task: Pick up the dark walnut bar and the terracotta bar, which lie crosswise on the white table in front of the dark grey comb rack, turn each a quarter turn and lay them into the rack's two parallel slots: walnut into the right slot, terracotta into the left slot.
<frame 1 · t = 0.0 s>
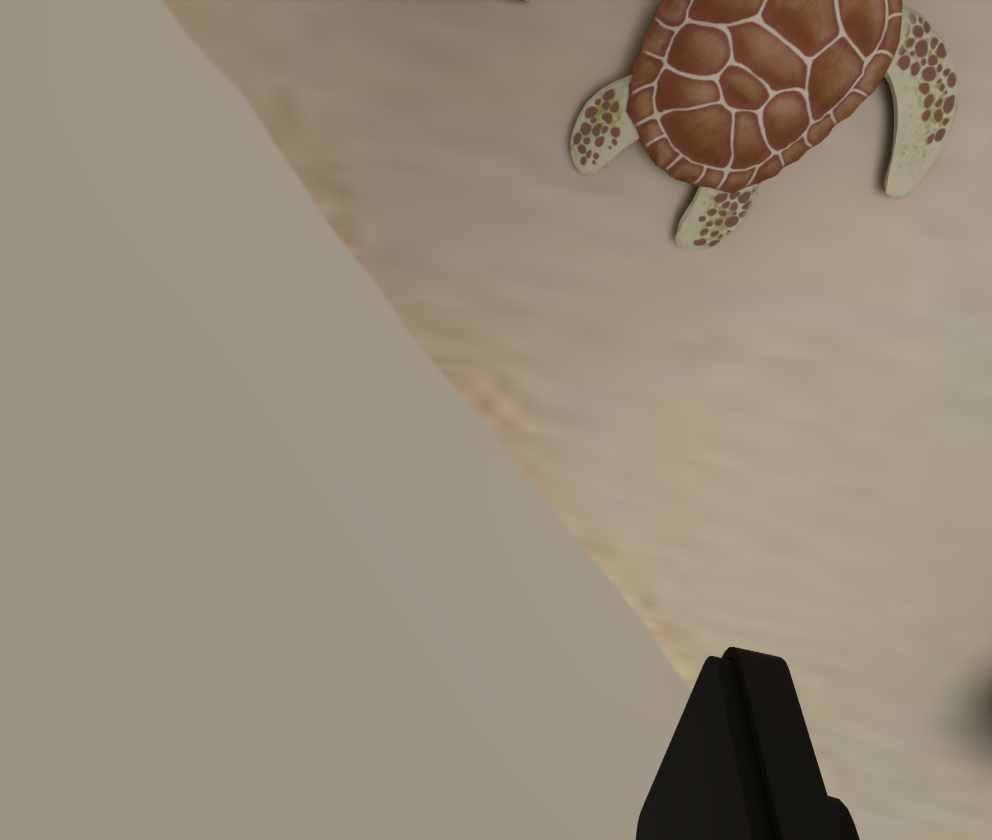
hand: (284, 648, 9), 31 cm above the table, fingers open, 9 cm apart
decorative turtle: (755, 38, 34), on the table
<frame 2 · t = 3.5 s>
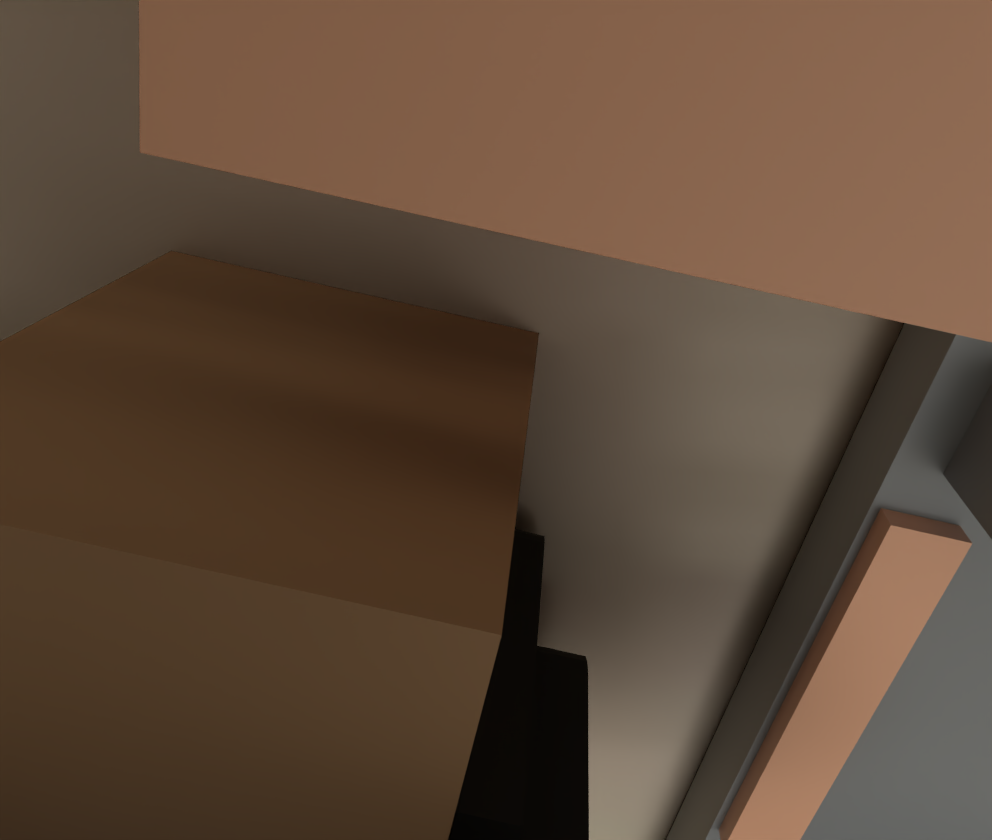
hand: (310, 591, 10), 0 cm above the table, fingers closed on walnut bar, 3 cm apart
walnut bar: (317, 586, 11), on the table, touching gripper
when the fingers open (3 cm above the table, at t = 7.7 s): walnut bar stays where it is, resting on slot rack.
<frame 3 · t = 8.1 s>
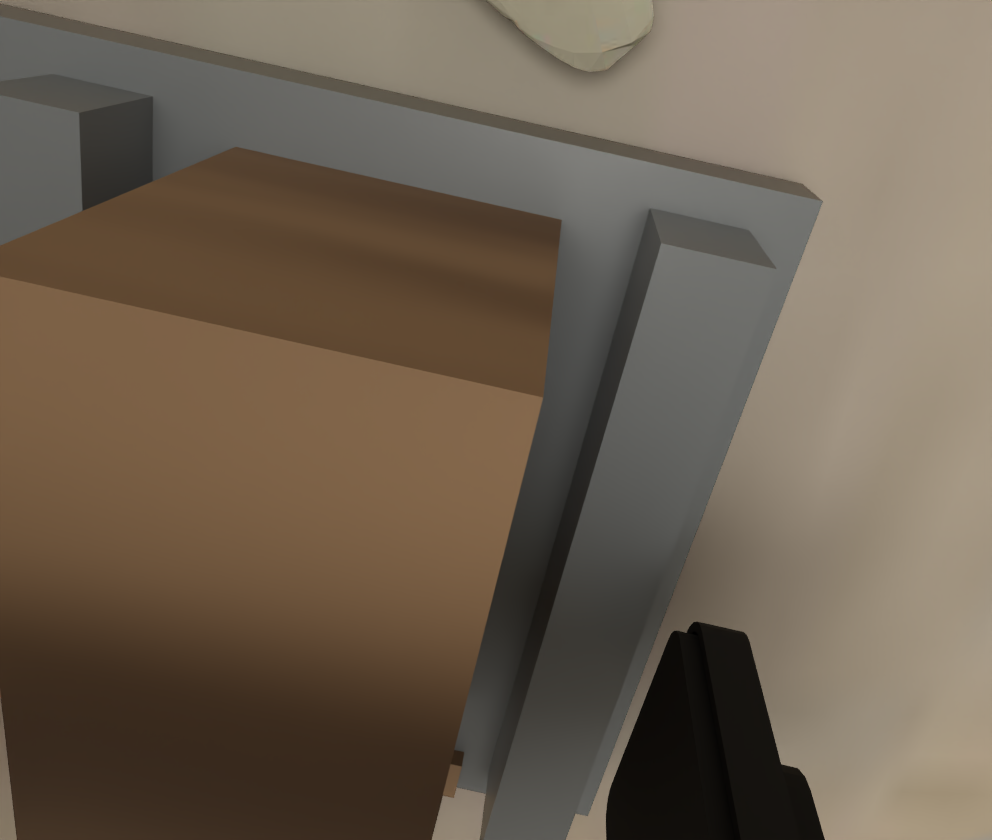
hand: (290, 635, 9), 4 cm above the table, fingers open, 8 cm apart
slot rack: (143, 416, 13), on the table
walnut bar: (359, 463, 12), point 1 cm above the table, touching slot rack
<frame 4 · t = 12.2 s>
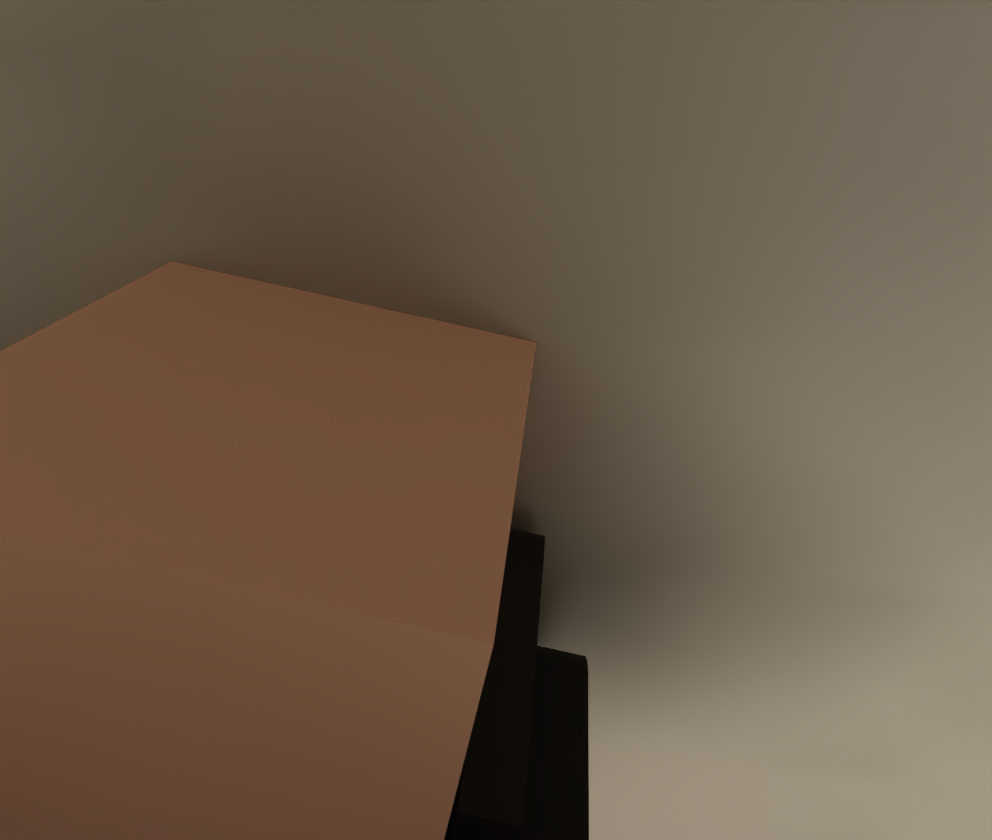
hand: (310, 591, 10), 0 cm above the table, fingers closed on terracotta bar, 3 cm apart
terracotta bar: (316, 595, 11), on the table, touching gripper
when the fingers open (3 cm above the table, at t = 16.3 s): terracotta bar moves 1 cm, resting on slot rack.
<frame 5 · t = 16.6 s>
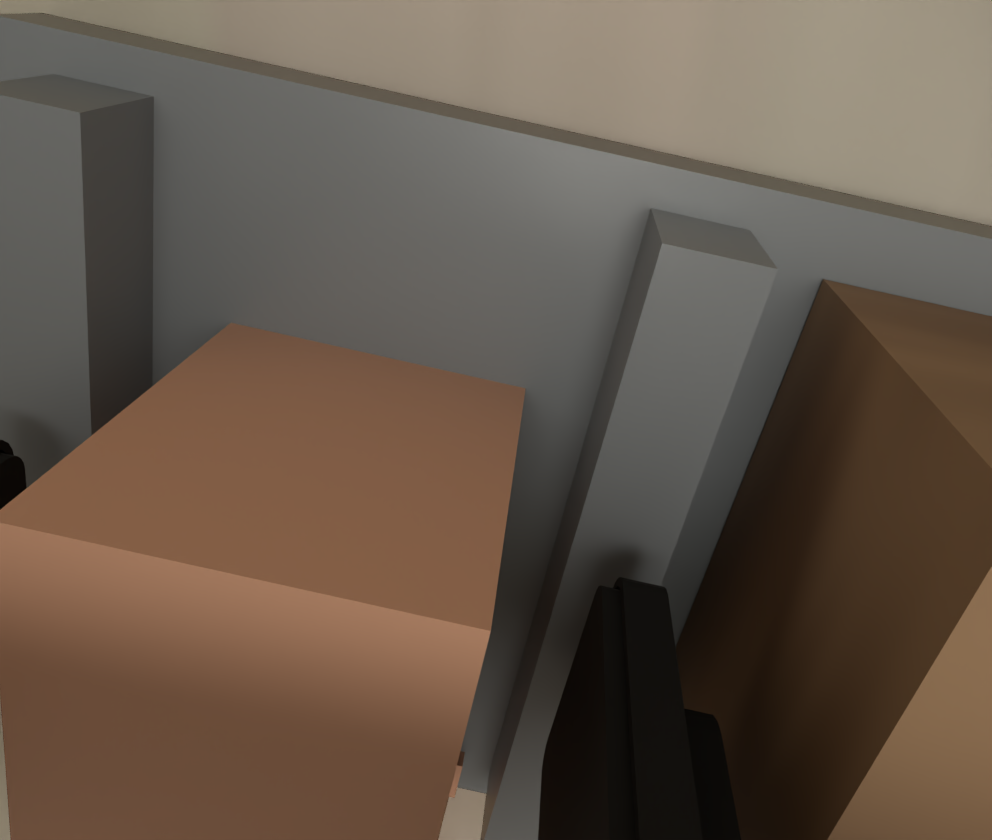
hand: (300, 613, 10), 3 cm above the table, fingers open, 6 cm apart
terracotta bar: (341, 595, 13), point 1 cm above the table, touching slot rack
slot rack: (593, 516, 13), on the table
walnut bar: (853, 574, 12), point 1 cm above the table, touching gripper, slot rack
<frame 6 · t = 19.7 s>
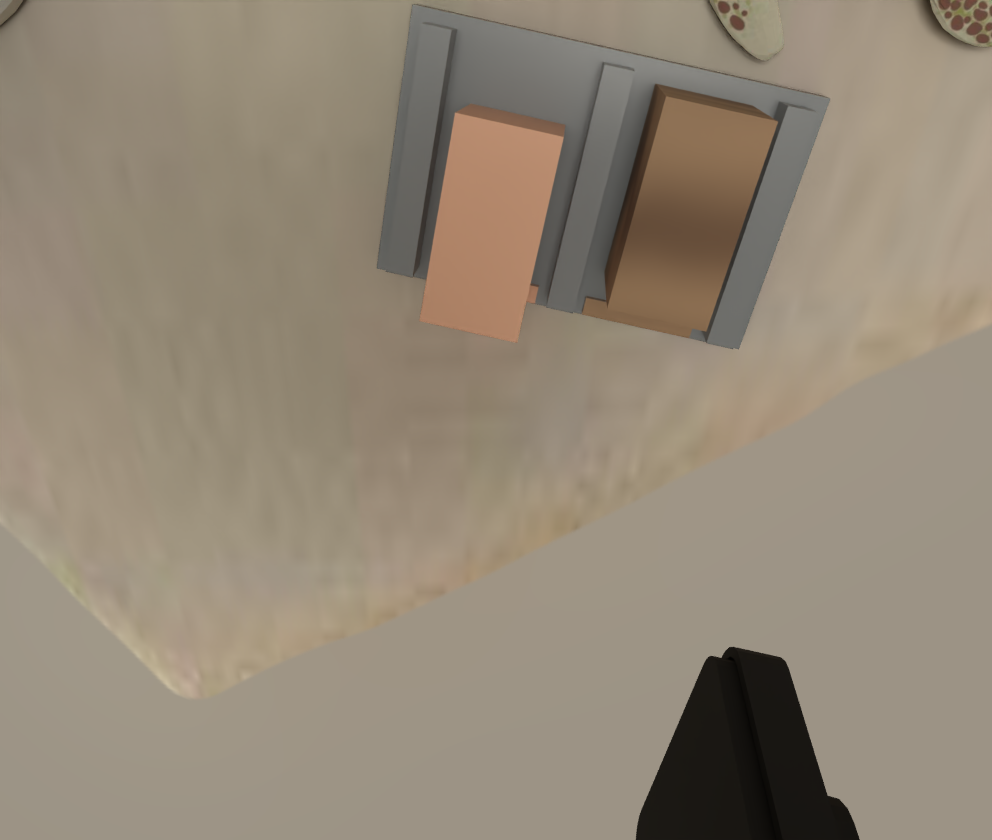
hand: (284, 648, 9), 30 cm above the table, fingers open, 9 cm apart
terracotta bar: (498, 209, 36), point 1 cm above the table, touching slot rack
slot rack: (587, 184, 36), on the table
walnut bar: (674, 193, 35), point 1 cm above the table, touching slot rack
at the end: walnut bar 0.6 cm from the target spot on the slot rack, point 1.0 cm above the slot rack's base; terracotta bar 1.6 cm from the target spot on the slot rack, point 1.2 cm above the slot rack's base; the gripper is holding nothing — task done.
